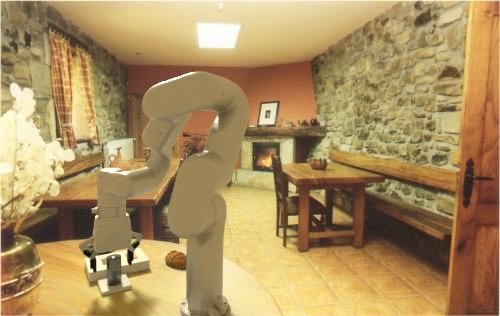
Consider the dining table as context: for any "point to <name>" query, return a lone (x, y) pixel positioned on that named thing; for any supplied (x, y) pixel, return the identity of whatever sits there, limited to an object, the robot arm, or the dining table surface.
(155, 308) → the dining table surface
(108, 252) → the grey rounded lumpy piece
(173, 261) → the pastry
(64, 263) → the dining table surface
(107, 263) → the peg
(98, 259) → the board
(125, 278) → the pad
